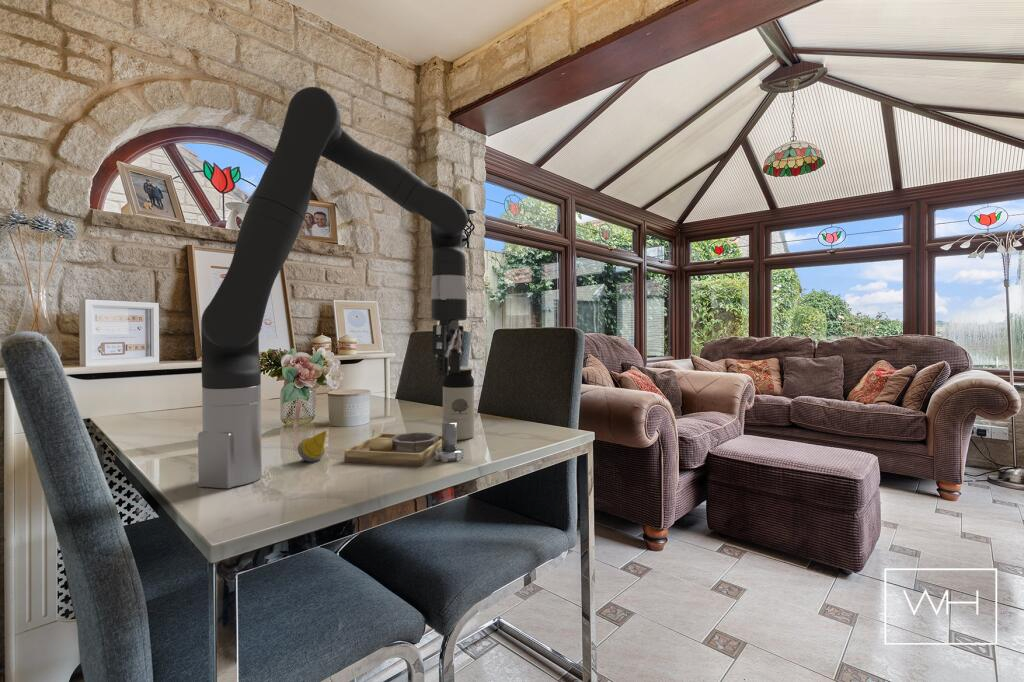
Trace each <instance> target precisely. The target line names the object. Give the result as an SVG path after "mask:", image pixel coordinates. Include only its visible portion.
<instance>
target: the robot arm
mask: <svg viewBox="0 0 1024 682" xmlns="http://www.w3.org/2000/svg"><path fill="white" fill-rule="evenodd" d="M283 121H284V122H283V125H282V128H281V129H282V130H281V132H280V136H279V139H278V143H277V144H276V148H275V150H274V152H273V154H272V156H271V158H270V160H269V161H268V164H267V165H266V167H265V169H264V172H263V174H262V176H261V178H260V181H259V183H258V184H257V187H256V189H255V191H254V193H253V194H252V195H253V196H252V198H251V199H250V202H249V204H248V207H247V209H246V212H245V213H244V216H243V219H242V222H241V226H240V229H239V231H238V236H237V239H236V243H235V247H234V251H233V257H232V260H231V263H230V265H229V268H228V270H227V272H226V274H225V276H224V278H223V280H222V282H221V283H220V285H219V287H218V289H217V290H216V293H215V294H214V296H213V297H212V299H211V301H210V302H209V304H208V305H207V306H206V307H205V309H204V311H203V313H202V315H201V321H200V325H201V326H200V327H201V328H200V329H201V331H200V333H201V334H200V335H201V338H200V339H201V391H202V392H201V393H202V394H201V395H202V396H201V397H202V398H201V400H202V401H201V403H202V405H201V407H202V410H201V412H202V413H201V415H202V430H201V431H199V432H198V433H197V441H198V442H197V447H198V448H197V458H198V459H197V460H198V463H197V464H198V466H197V467H198V469H197V470H198V471H197V472H198V487H199V488H200V487H201V488H202V487H203V488H215V489H216V488H217V489H218V488H219V489H230V488H234V487H238V486H243V485H247V484H250V483H254V482H255V481H258V480H260V479H261V478H262V477H263V476H262V385H261V384H262V383H261V382H262V381H261V379H262V378H261V377H262V376H261V374H262V373H261V371H262V370H261V366H260V365H261V364H260V337H259V335H260V333H261V331H262V330H261V329H262V325H263V321H264V317H265V313H266V309H267V305H268V302H269V298H270V296H271V295H270V294H271V292H272V289H273V286H274V284H275V281H276V279H277V277H278V274H279V273H280V271H281V269H282V268H283V267H284V264H285V262H286V260H287V259H288V257H289V254H290V253H291V251H292V249H293V247H294V244H295V242H296V240H297V238H298V235H299V233H300V230H301V228H302V226H303V223H304V220H305V218H306V214H307V212H308V208H309V204H310V200H311V194H312V190H313V185H314V179H315V173H316V170H317V166H318V164H319V160H320V159H321V157H323V158H324V159H327V160H328V161H330V162H332V163H334V164H336V165H338V166H340V167H342V168H343V169H345V170H347V171H349V172H350V173H352V174H354V175H356V176H357V177H358V178H360V179H361V180H363V181H364V182H366V183H368V184H369V185H371V186H372V187H374V188H375V189H377V190H378V191H379V192H381V193H382V194H384V195H385V196H386V197H388V198H389V199H390V200H391V201H393V202H394V203H395V204H397V205H399V207H401V208H402V209H404V210H405V211H407V212H409V213H411V214H418V215H419V216H420V217H423V218H424V219H426V220H427V221H428V222H430V237H431V240H430V241H431V246H432V278H431V279H432V280H431V289H430V292H431V293H430V295H431V299H430V300H431V308H430V309H431V311H430V312H431V315H430V316H431V318H430V319H432V320H433V321H438V322H439V324H433V326H432V355H433V356H435V357H436V358H437V359H436V361H437V362H436V365H437V366H436V367H437V368H436V370H437V372H436V373H437V376H439V377H445V376H447V375H448V374H449V367H450V371H451V372H460V366H461V356H462V353H463V352H465V347H464V345H465V342H464V339H465V338H464V334H465V333H464V325H460V324H459V322H460V321H467V318H468V315H467V313H468V310H467V309H468V308H467V307H468V304H467V303H468V295H467V293H468V287H467V279H466V275H467V274H466V272H467V270H466V268H467V267H466V266H467V265H466V255H465V252H464V251H463V231H464V230H465V229H466V227H467V226H468V222H469V215H468V212H467V210H466V208H464V207H465V206H463V205H462V204H461V203H460V202H459V201H458V200H456V199H455V198H454V197H453V196H450V195H448V194H447V193H445V192H443V191H441V190H439V189H438V188H435V187H433V186H431V185H430V184H428V183H427V182H425V180H423V179H421V178H420V177H419V176H418V175H417V174H415V173H414V172H413V171H411V170H410V169H409V168H407V167H406V166H404V165H403V164H401V163H399V162H397V161H396V160H394V159H392V158H390V157H387V156H384V155H382V154H381V153H377V152H375V151H373V150H371V149H369V148H367V147H365V146H364V145H362V144H361V143H359V142H358V141H357V140H355V139H354V138H353V137H352V136H351V135H350V134H349V133H348V132H347V131H346V130H345V129H344V128H343V127H342V122H341V121H342V117H341V111H340V108H339V106H338V103H337V102H336V100H335V98H334V97H333V95H331V94H330V93H329V92H328V91H327V90H326V89H324V88H321V87H318V86H317V87H316V86H308V87H304V88H302V89H300V90H299V91H297V92H296V93H294V95H293V97H292V98H291V99H290V101H289V104H288V107H287V110H286V114H285V119H284V120H283Z"/></svg>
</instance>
